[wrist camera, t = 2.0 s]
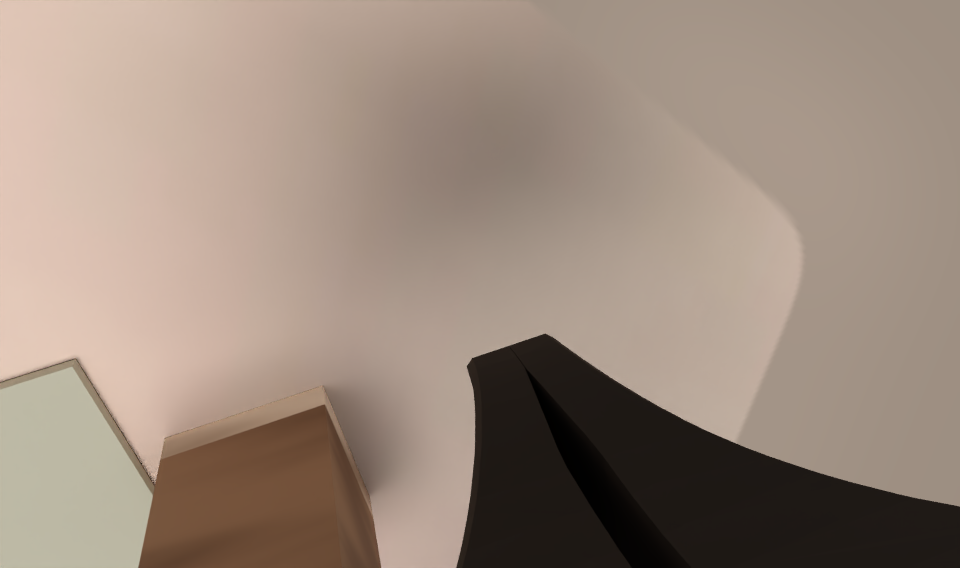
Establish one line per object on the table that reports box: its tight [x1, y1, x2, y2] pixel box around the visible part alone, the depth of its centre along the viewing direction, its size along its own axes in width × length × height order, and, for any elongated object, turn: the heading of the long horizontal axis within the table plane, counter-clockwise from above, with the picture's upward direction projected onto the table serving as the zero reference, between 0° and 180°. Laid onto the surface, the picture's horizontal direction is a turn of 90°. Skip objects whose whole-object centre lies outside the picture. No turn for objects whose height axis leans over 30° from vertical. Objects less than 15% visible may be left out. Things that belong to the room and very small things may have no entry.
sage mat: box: [0, 359, 155, 568], centre depth 23 cm, size 12×10×1 cm
